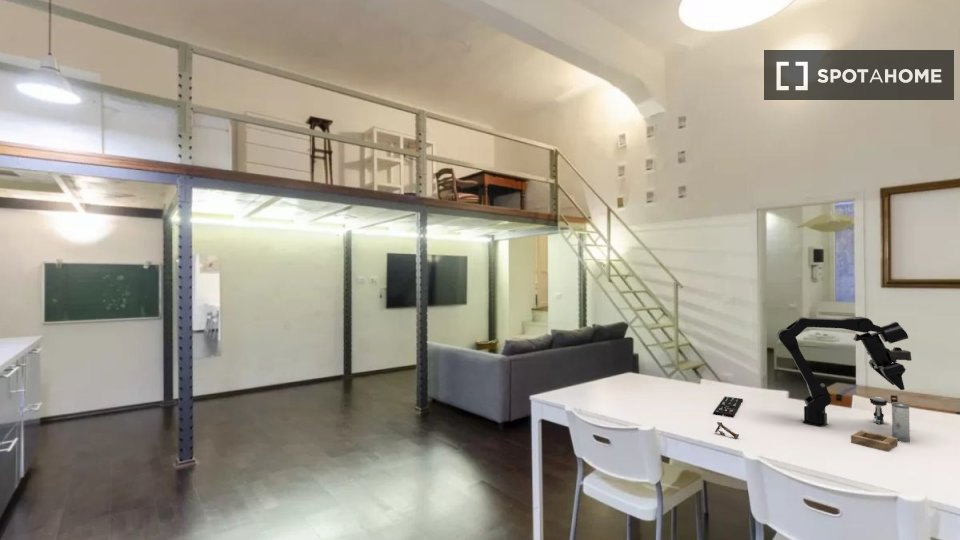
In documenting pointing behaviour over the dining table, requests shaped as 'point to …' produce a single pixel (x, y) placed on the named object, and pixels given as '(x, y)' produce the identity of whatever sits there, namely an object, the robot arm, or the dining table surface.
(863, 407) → the dining table surface
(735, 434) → the wooden post with brackets
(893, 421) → the metal canister
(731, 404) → the remote control
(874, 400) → the push button
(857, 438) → the frame
